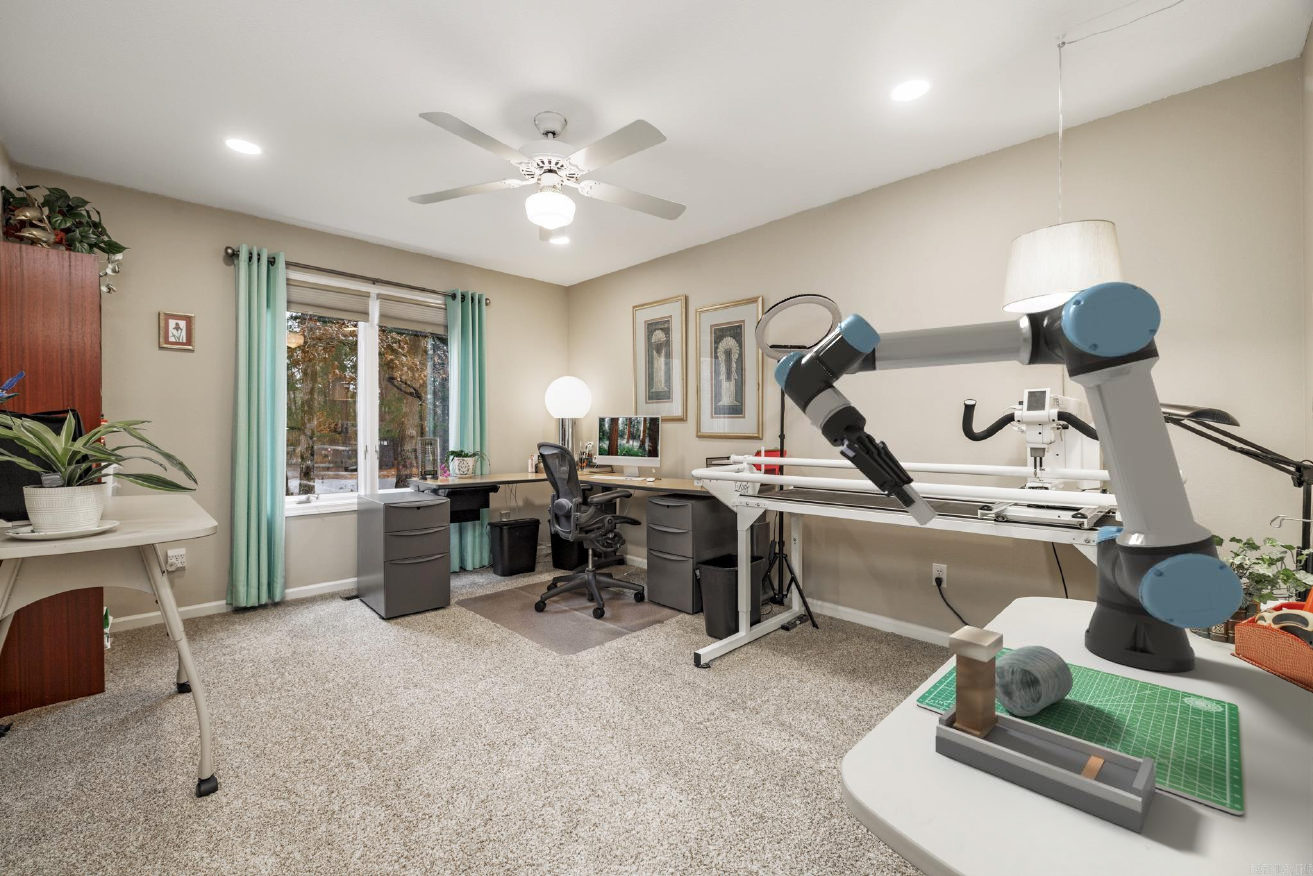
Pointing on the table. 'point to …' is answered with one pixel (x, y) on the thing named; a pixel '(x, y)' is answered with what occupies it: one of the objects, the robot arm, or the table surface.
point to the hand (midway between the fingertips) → (929, 520)
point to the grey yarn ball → (1031, 679)
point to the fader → (975, 679)
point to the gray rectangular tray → (1057, 767)
